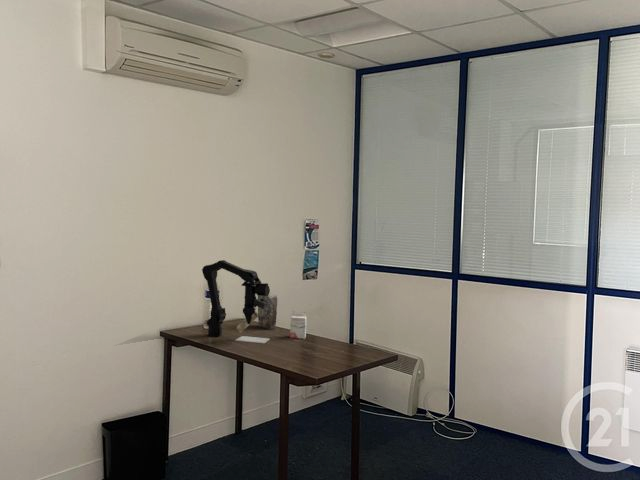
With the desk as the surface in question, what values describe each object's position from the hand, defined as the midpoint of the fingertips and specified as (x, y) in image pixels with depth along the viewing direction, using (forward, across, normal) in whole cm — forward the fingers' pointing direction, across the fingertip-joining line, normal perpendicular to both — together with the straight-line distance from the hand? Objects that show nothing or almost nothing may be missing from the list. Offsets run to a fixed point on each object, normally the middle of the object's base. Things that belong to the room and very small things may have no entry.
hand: (249, 323), depth 333 cm
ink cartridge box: (+9, +10, -27) cm, 30 cm away
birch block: (+4, 0, +6) cm, 7 cm away
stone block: (+10, +33, -9) cm, 36 cm away
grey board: (+9, 0, -2) cm, 9 cm away
